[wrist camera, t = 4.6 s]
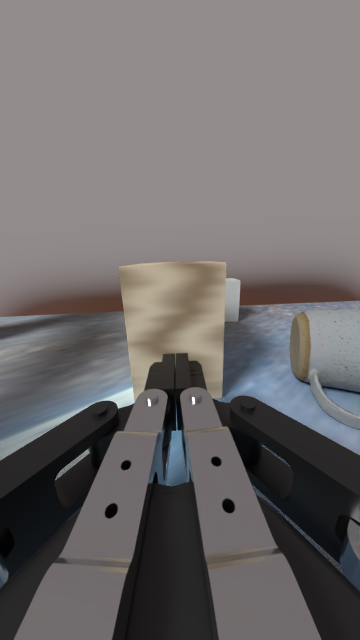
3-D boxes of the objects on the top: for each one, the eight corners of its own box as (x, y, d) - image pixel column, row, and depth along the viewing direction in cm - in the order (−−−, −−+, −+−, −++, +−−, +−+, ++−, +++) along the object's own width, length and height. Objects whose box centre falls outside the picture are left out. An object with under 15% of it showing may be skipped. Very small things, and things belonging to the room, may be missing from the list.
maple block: (134, 402, 18) (118, 266, 15) (152, 341, 32) (146, 263, 28) (222, 398, 18) (226, 262, 15) (203, 340, 32) (203, 260, 28)
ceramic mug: (284, 359, 25) (292, 298, 23) (367, 368, 22) (385, 300, 20) (301, 425, 15) (318, 331, 13) (449, 455, 13) (503, 345, 10)
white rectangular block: (127, 325, 40) (122, 284, 38) (132, 318, 45) (128, 282, 42) (238, 321, 40) (240, 280, 38) (231, 314, 45) (233, 278, 42)
